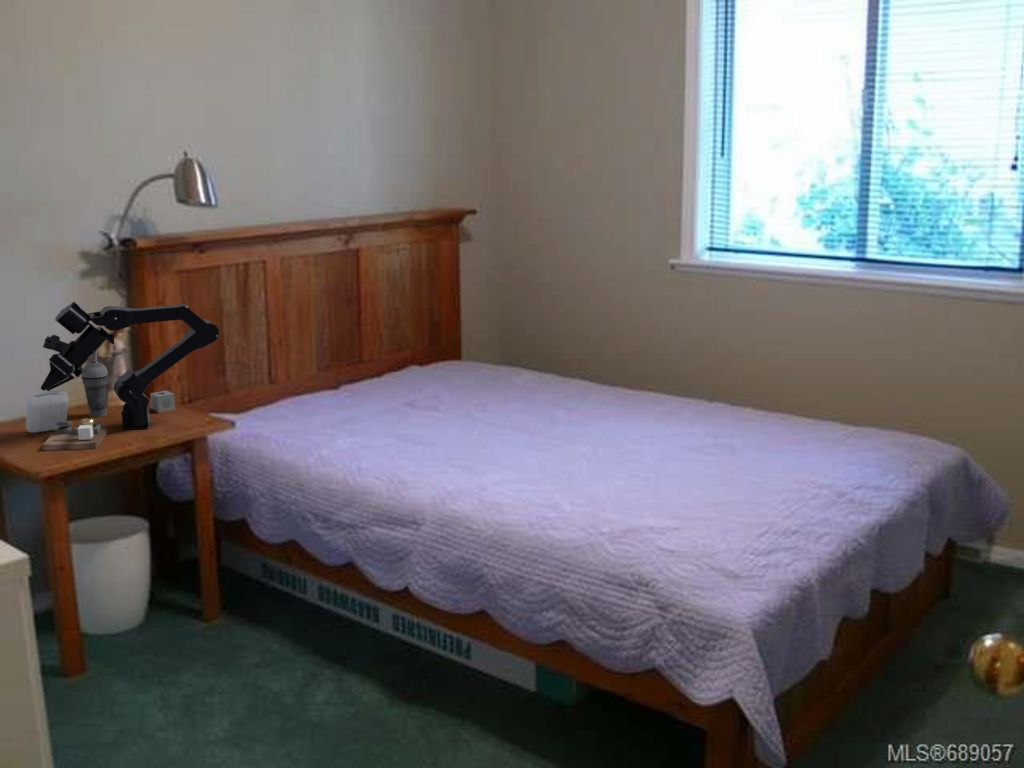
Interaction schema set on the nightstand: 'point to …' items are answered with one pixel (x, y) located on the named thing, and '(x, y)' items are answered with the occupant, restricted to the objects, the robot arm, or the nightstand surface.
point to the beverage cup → (96, 387)
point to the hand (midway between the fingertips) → (44, 389)
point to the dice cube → (162, 401)
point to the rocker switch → (64, 423)
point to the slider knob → (85, 432)
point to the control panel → (74, 438)
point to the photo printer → (46, 411)
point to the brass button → (88, 421)
